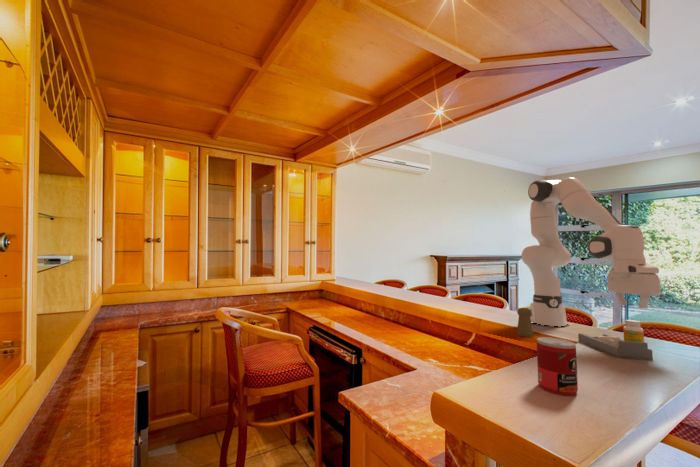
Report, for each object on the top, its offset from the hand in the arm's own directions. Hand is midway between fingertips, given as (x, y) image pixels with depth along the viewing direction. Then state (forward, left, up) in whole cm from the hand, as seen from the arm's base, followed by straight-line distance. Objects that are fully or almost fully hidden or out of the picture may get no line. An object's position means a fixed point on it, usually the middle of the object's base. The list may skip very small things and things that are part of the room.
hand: (632, 306), depth 111 cm
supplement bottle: (0, 0, -15) cm, 15 cm away
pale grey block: (+3, -10, -15) cm, 18 cm away
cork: (-13, -32, -15) cm, 37 cm away
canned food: (+45, -48, -15) cm, 67 cm away
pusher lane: (+3, -10, -15) cm, 18 cm away
